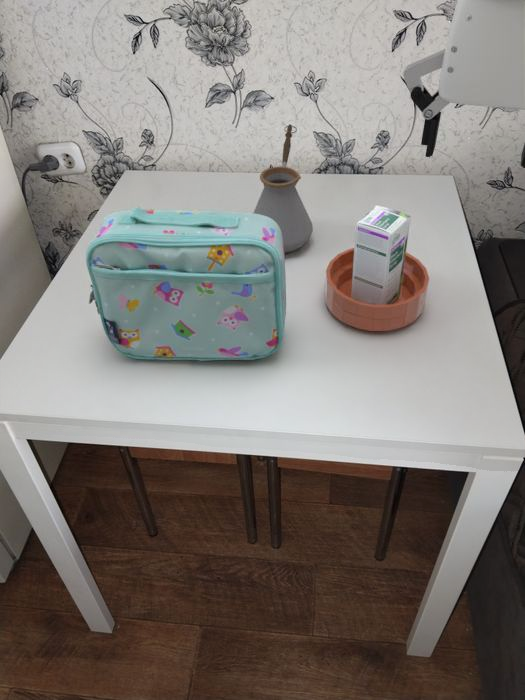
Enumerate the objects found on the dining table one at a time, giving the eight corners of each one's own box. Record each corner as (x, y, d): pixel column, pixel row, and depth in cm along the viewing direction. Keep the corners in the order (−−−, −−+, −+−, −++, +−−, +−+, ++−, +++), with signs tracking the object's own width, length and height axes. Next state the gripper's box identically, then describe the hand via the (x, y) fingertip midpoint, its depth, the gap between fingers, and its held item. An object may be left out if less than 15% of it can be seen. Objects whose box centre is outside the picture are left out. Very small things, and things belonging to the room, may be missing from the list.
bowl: (428, 282, 96) (434, 254, 92) (415, 343, 86) (421, 315, 82) (337, 266, 100) (339, 239, 96) (314, 324, 90) (315, 296, 86)
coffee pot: (309, 262, 101) (311, 182, 90) (243, 258, 103) (237, 179, 92) (320, 198, 116) (322, 123, 106) (262, 195, 118) (259, 121, 107)
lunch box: (99, 365, 85) (58, 240, 70) (116, 318, 92) (82, 195, 77) (285, 368, 83) (283, 240, 68) (287, 320, 90) (286, 195, 76)
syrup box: (382, 315, 89) (394, 234, 79) (348, 301, 92) (355, 220, 82) (400, 296, 92) (413, 215, 82) (367, 282, 95) (375, 203, 85)
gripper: (627, -39, 51) (563, 150, 63) (423, -45, 55) (400, 133, 67) (636, -17, 46) (565, 184, 58) (411, -25, 50) (388, 163, 62)
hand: (476, 156), depth 62 cm, fingers open, 9 cm apart
